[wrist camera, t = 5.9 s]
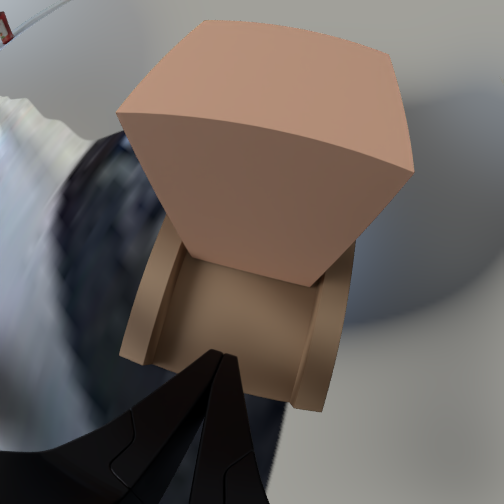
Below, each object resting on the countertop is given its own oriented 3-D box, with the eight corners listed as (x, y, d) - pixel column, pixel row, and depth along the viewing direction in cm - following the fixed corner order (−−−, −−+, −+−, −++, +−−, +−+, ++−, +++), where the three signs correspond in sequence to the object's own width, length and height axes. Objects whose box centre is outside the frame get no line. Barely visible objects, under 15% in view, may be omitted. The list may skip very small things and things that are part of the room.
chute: (313, 405, 14) (333, 422, 10) (132, 355, 14) (100, 355, 11) (352, 185, 18) (371, 150, 15) (206, 151, 19) (199, 112, 15)
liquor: (0, 48, 48) (-17, 11, 22) (8, 41, 51) (-8, 5, 24) (10, 41, 48) (-7, 3, 22) (17, 34, 51) (2, -3, 25)
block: (309, 287, 15) (414, 172, 5) (191, 257, 16) (115, 112, 5) (325, 199, 17) (389, 54, 7) (221, 174, 18) (204, 20, 7)
